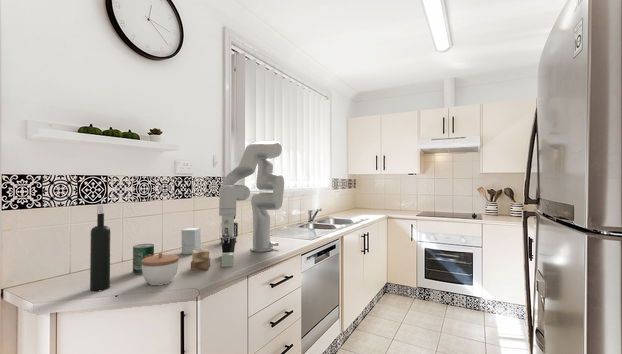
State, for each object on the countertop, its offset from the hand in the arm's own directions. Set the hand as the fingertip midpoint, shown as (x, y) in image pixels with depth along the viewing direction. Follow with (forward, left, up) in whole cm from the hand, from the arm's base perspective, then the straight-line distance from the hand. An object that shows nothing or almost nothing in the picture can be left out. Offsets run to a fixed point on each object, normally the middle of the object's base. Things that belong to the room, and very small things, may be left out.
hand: (226, 250), depth 138 cm
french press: (+3, -52, -7) cm, 52 cm away
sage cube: (0, -1, -7) cm, 7 cm away
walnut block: (+11, +3, -7) cm, 13 cm away
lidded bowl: (+23, +19, -7) cm, 31 cm away
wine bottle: (+42, +22, -7) cm, 48 cm away
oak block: (+11, +4, -3) cm, 12 cm away
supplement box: (+21, -29, -7) cm, 36 cm away
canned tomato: (+34, +3, -7) cm, 35 cm away
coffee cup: (+1, -18, -7) cm, 19 cm away
